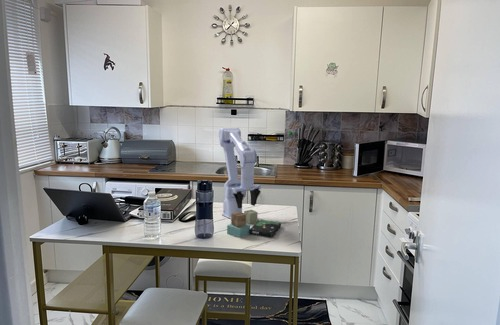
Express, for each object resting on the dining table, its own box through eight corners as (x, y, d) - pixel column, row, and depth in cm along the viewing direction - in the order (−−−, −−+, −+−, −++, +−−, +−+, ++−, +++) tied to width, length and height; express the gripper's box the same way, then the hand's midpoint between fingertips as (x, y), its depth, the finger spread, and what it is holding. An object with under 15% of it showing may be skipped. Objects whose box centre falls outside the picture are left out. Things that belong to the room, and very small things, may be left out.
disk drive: (272, 239, 161) (281, 227, 175) (272, 233, 161) (281, 222, 174) (249, 235, 164) (259, 224, 178) (249, 229, 164) (259, 218, 178)
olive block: (243, 221, 181) (244, 211, 180) (251, 219, 184) (251, 209, 183) (249, 224, 177) (250, 213, 176) (257, 222, 180) (257, 212, 179)
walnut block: (231, 224, 165) (231, 213, 164) (239, 222, 168) (240, 211, 167) (236, 227, 161) (237, 216, 160) (245, 225, 164) (246, 214, 163)
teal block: (227, 234, 164) (227, 225, 163) (237, 230, 170) (237, 221, 169) (239, 238, 160) (239, 229, 159) (249, 234, 165) (250, 225, 165)
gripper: (239, 180, 162) (238, 211, 164) (265, 177, 171) (264, 206, 173) (230, 177, 167) (229, 207, 170) (255, 174, 176) (254, 202, 179)
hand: (246, 206), depth 172 cm, fingers open, 7 cm apart
